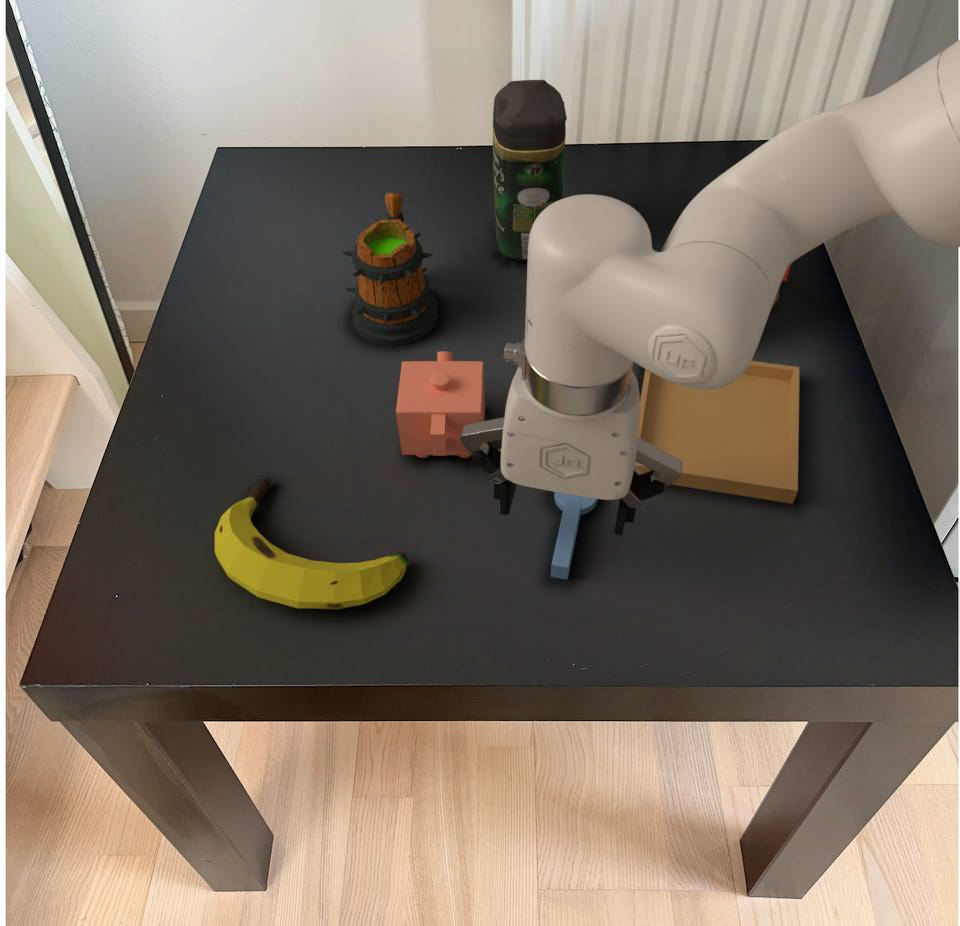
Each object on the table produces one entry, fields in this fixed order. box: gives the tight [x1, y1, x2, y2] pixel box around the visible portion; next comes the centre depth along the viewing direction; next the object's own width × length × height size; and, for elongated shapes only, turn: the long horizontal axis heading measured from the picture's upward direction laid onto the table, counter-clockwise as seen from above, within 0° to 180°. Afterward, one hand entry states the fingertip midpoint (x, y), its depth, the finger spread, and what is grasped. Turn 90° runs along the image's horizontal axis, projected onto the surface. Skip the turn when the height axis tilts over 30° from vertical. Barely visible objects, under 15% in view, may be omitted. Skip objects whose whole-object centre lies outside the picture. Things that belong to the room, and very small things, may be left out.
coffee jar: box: [492, 79, 568, 262], centre depth 102 cm, size 10×8×19 cm
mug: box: [342, 192, 440, 347], centre depth 98 cm, size 13×10×12 cm
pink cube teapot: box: [395, 350, 486, 459], centre depth 87 cm, size 8×12×8 cm, turn 178°
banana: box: [214, 478, 409, 610], centre depth 81 cm, size 5×17×15 cm
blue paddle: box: [550, 492, 598, 581], centre depth 82 cm, size 11×4×2 cm, turn 167°
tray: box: [635, 360, 801, 505], centre depth 89 cm, size 15×16×2 cm
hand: (563, 511), depth 77 cm, fingers open, 9 cm apart
